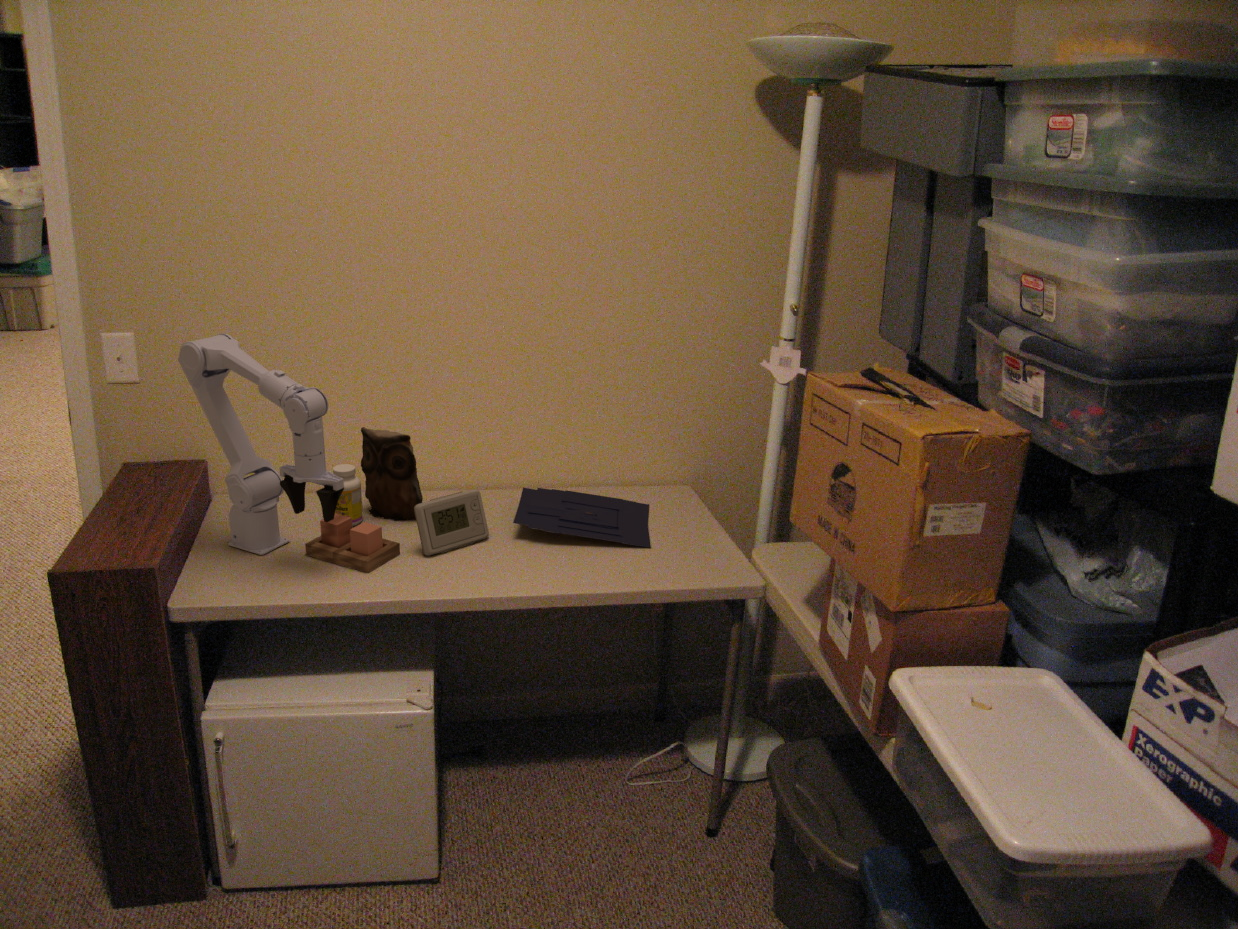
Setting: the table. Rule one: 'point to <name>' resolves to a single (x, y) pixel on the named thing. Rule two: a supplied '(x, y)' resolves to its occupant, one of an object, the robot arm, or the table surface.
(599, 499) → the black flat block
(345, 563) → the walnut base
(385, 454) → the owl
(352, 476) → the supplement bottle
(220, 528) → the table surface
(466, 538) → the digital clock
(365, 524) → the post block
